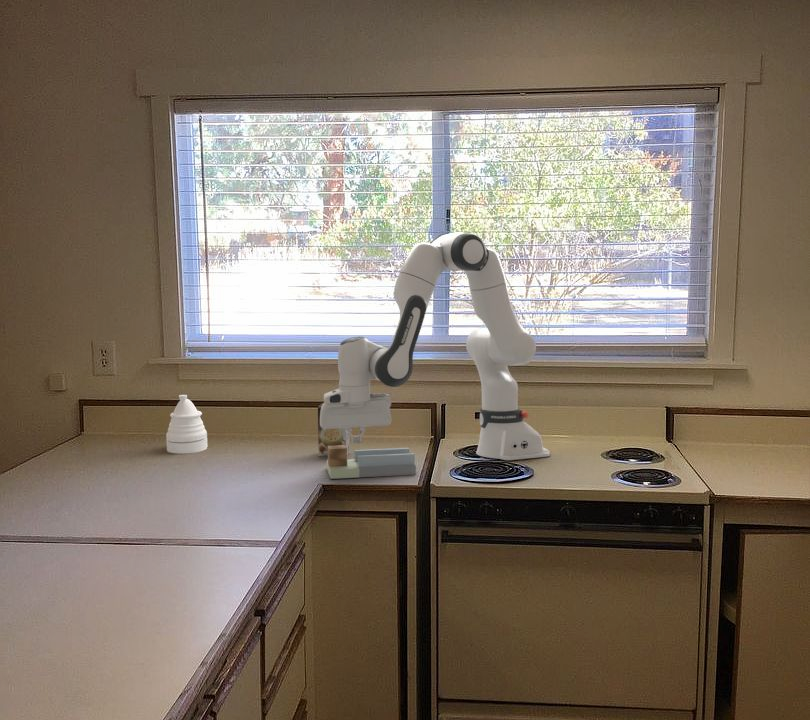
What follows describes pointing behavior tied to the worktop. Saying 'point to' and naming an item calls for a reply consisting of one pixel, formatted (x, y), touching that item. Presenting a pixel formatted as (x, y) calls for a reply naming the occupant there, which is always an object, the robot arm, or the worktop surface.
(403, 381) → the robot arm
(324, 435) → the coffee box
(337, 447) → the walnut block
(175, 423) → the honey pot
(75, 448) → the worktop surface
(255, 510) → the worktop surface
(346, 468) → the channel
